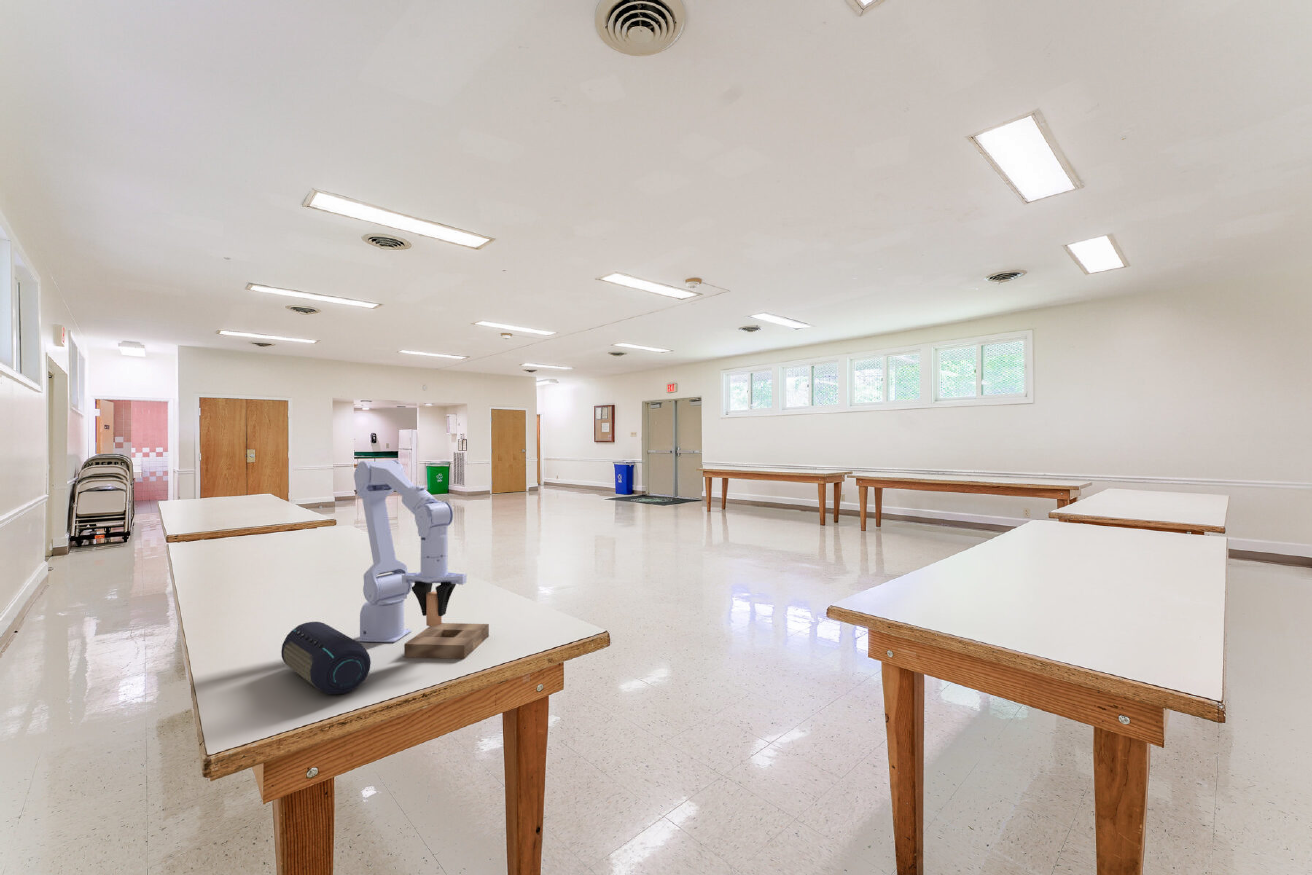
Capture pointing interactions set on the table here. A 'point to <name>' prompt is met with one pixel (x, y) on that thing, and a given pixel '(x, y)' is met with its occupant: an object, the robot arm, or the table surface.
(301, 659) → the portable speaker
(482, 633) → the socket block
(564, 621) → the table surface
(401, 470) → the robot arm
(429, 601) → the peg
